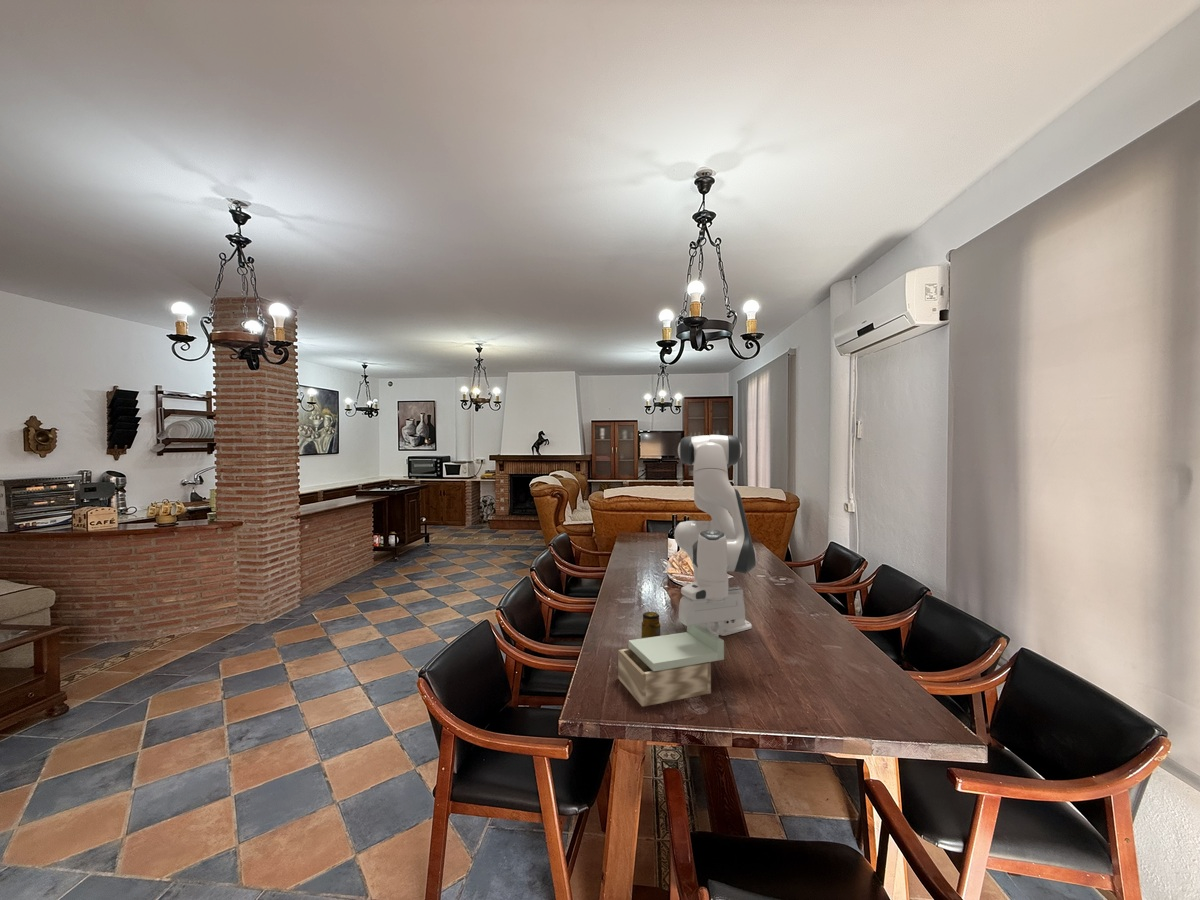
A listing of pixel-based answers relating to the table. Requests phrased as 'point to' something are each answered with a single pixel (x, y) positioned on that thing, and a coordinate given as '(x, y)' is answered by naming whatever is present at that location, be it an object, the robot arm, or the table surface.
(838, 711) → the table surface
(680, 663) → the lid
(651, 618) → the condiment
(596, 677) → the table surface
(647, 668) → the box
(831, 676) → the table surface
